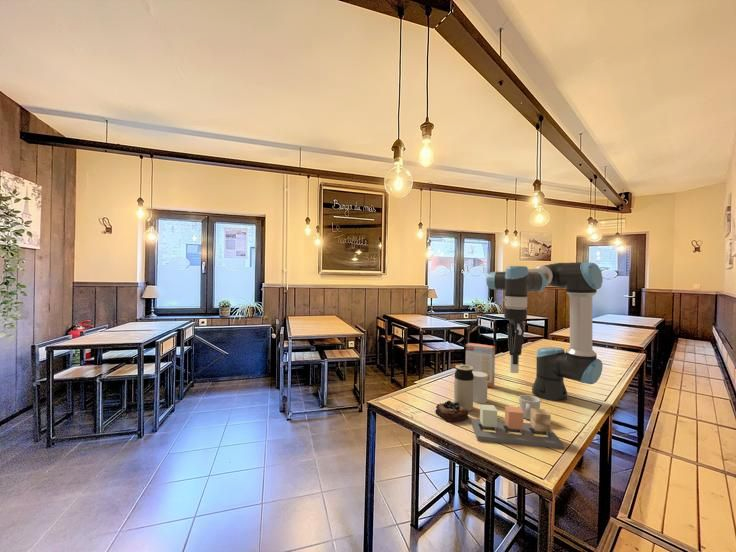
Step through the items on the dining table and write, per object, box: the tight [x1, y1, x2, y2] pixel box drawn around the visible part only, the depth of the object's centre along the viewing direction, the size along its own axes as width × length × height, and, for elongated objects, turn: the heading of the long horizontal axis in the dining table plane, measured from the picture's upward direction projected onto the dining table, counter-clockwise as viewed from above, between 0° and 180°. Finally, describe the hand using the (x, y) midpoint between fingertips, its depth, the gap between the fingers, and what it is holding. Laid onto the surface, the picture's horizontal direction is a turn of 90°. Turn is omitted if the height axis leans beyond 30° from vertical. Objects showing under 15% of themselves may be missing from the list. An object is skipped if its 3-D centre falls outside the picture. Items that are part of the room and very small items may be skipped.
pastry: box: [434, 400, 469, 424], centre depth 133 cm, size 11×12×6 cm
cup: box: [518, 394, 542, 421], centre depth 132 cm, size 11×8×8 cm
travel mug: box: [453, 364, 474, 412], centre depth 142 cm, size 8×8×18 cm
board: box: [470, 418, 564, 449], centre depth 119 cm, size 28×14×2 cm, turn 81°
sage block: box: [479, 403, 498, 427], centre depth 120 cm, size 5×5×6 cm
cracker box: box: [465, 342, 496, 388], centre depth 173 cm, size 14×6×21 cm, turn 55°
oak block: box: [529, 408, 552, 432], centre depth 117 cm, size 5×5×6 cm
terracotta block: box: [504, 405, 525, 430], centre depth 119 cm, size 5×5×6 cm
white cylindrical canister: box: [472, 371, 488, 404], centre depth 151 cm, size 8×8×12 cm
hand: (513, 372), depth 119 cm, fingers closed
